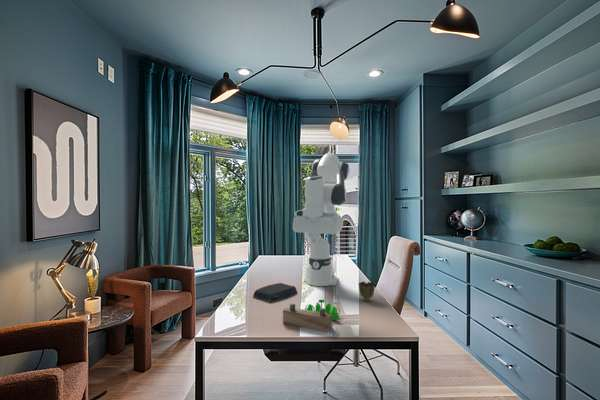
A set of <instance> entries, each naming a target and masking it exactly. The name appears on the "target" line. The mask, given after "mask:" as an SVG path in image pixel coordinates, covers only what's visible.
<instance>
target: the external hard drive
mask: <svg viewBox="0 0 600 400" xmlns="http://www.w3.org/2000/svg"><path fill="white" fill-rule="evenodd" d="M297 294H298V290H297V288H296V286H295V285H289V284H286V283H283V282H278V283H273V284H268V285H265V286H261V287H260V288H256V289H255V291H254V292H253V294H252V298H254V299H257V300H260V301H264V302H266V303H269V304H270V303H273V302H277V301H280V300H283V299H285V298H286V299H287V298H289V297H292V296H295V295H297Z"/></svg>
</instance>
